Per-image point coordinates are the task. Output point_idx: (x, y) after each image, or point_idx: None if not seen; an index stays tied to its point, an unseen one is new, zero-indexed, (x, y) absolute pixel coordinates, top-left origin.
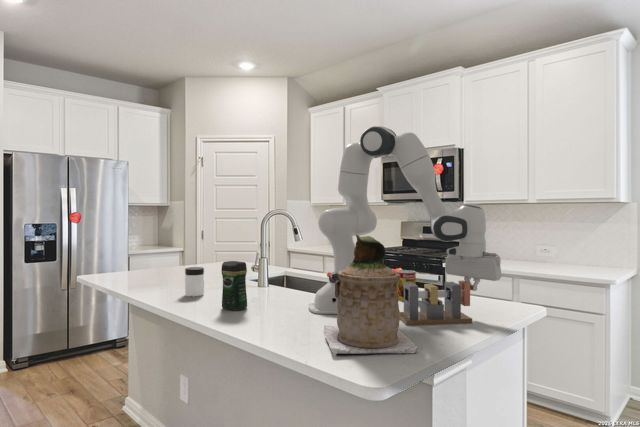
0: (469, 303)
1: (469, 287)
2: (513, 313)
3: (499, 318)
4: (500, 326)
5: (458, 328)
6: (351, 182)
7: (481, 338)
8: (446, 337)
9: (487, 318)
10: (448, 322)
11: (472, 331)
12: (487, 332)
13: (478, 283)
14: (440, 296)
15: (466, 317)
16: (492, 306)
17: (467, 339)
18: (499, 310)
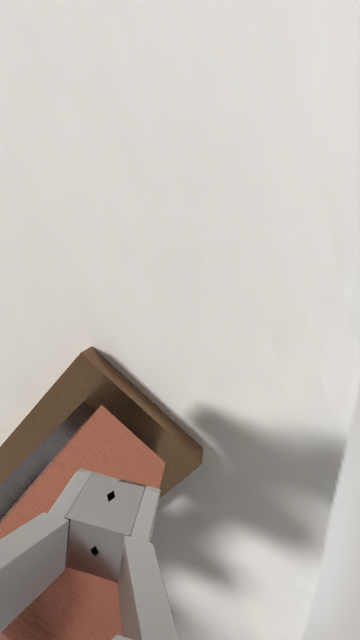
0: (159, 477)
1: (121, 630)
2: (317, 114)
3: (277, 296)
4: (321, 435)
5: (190, 537)
6: None
7: (301, 606)
8: (203, 635)
9: (227, 333)
10: None
11: (246, 549)
12: (298, 537)
13: (162, 586)
14: None
15: (173, 457)
16: (147, 4)
17: (265, 630)
18: (221, 95)
